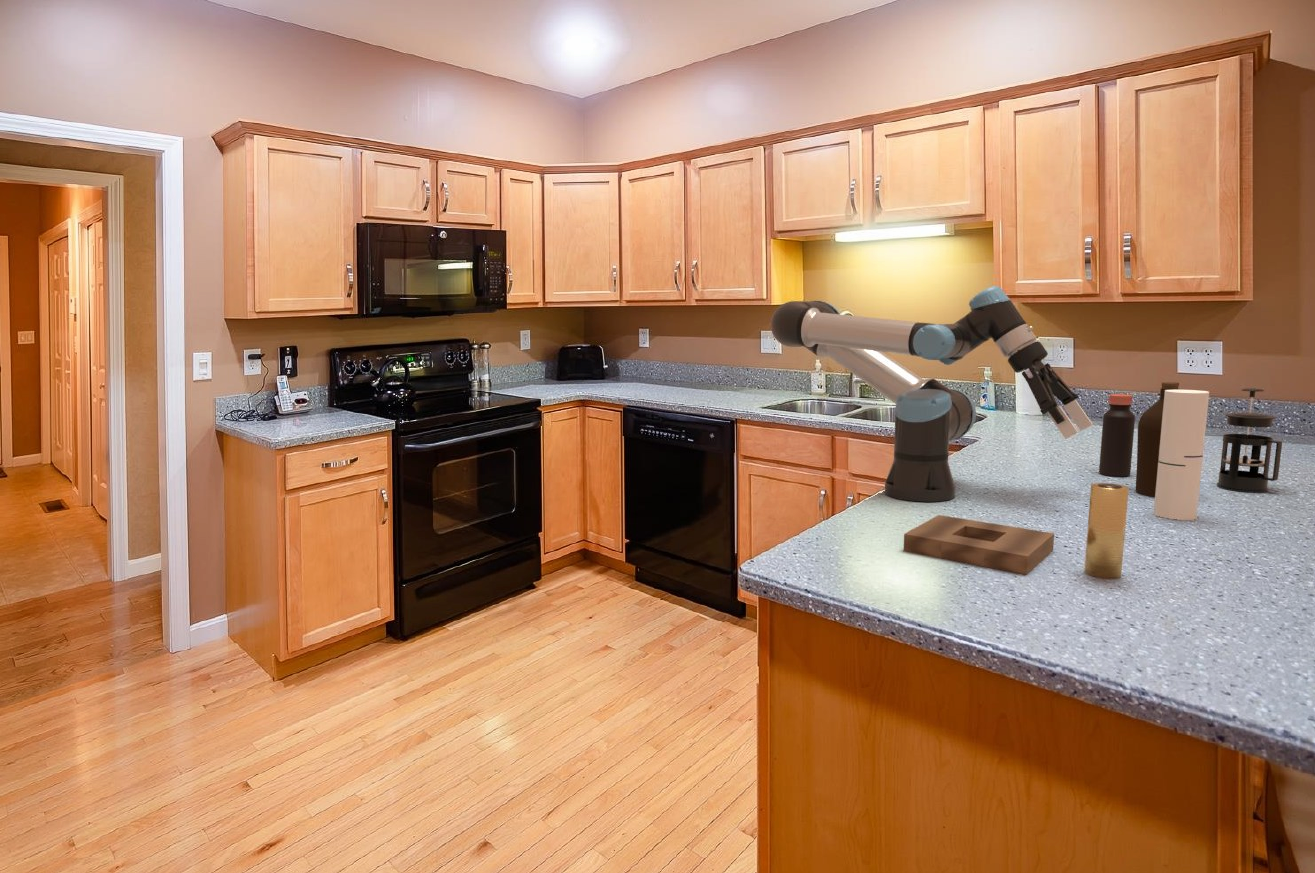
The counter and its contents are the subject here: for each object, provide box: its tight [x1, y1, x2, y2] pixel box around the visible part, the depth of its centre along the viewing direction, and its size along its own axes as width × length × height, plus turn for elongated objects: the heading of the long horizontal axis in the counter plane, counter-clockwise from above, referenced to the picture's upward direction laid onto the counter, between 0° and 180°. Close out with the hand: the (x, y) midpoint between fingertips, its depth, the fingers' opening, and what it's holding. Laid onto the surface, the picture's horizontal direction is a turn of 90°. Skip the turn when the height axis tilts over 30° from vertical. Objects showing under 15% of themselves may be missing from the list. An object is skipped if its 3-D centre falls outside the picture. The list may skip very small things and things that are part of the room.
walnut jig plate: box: [903, 514, 1055, 576], centre depth 131 cm, size 20×16×3 cm
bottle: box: [1098, 393, 1136, 478], centre depth 189 cm, size 7×7×20 cm
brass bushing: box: [1084, 482, 1129, 580], centre depth 118 cm, size 5×5×14 cm
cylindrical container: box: [1153, 389, 1210, 521], centre depth 150 cm, size 7×7×25 cm
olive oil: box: [1135, 381, 1180, 498], centre depth 168 cm, size 11×11×25 cm
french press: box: [1216, 387, 1283, 494], centre depth 172 cm, size 12×9×23 cm
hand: (1079, 431), depth 161 cm, fingers open, 13 cm apart
